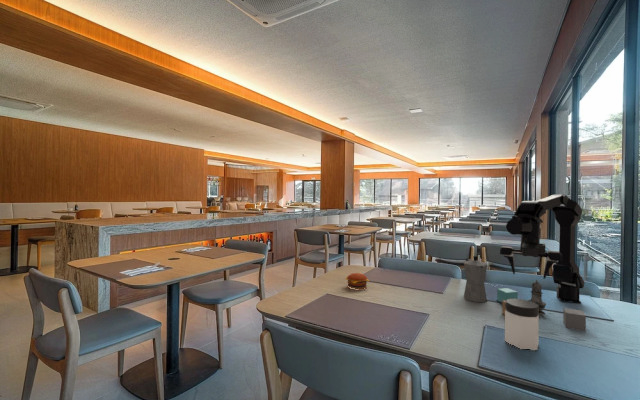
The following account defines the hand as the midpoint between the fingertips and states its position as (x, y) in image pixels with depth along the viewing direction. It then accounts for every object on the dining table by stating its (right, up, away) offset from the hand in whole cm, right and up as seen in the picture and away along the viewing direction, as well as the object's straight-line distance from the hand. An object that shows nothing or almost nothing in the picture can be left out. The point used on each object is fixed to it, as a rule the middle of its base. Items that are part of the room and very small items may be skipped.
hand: (528, 276), depth 112 cm
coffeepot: (-12, -13, +16) cm, 24 cm away
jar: (-19, -14, -24) cm, 33 cm away
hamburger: (-60, -13, +31) cm, 69 cm away
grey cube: (+6, -14, -12) cm, 19 cm away
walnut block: (-9, -14, -4) cm, 17 cm away
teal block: (-2, -13, +10) cm, 17 cm away
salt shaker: (+3, -14, 0) cm, 14 cm away
